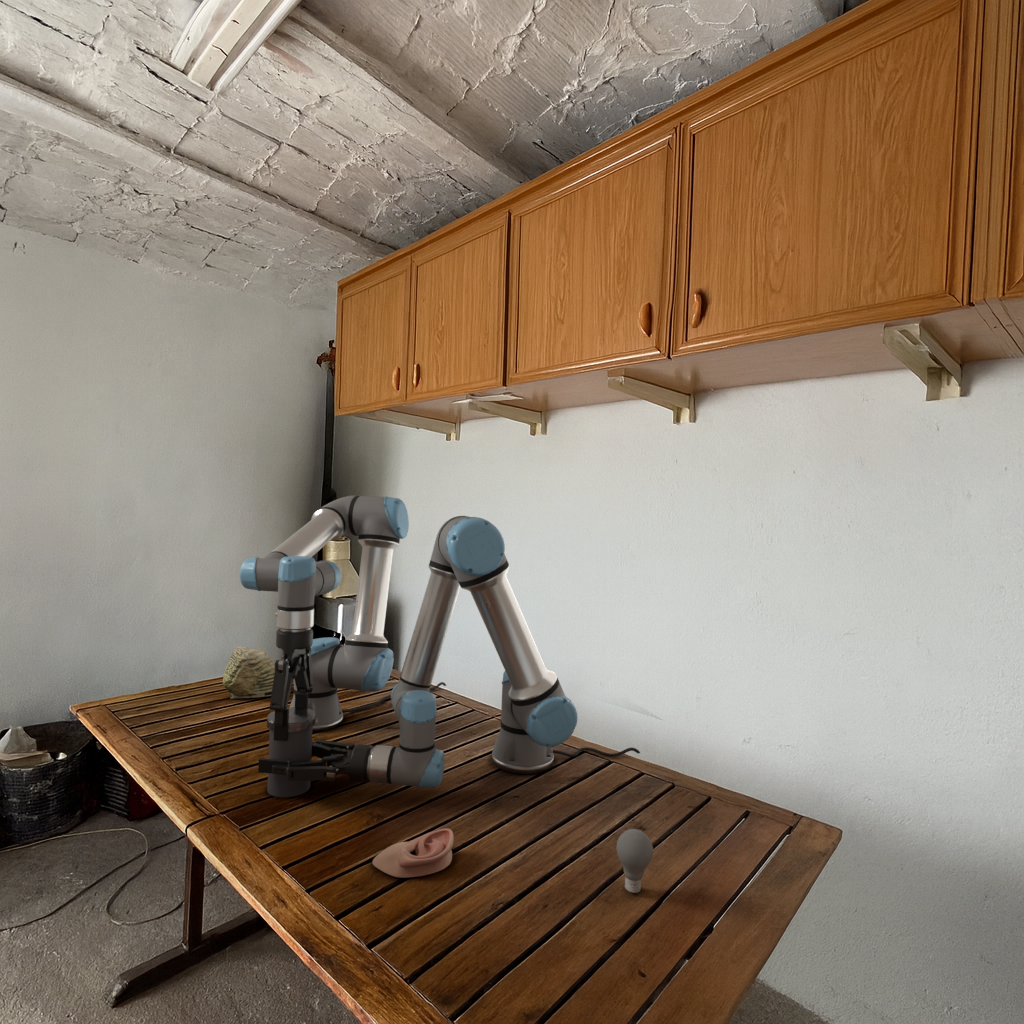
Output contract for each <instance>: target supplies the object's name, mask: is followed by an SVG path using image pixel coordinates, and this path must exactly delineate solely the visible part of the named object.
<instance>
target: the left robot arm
mask: <svg viewBox="0 0 1024 1024" xmlns="http://www.w3.org/2000/svg"><path fill="white" fill-rule="evenodd" d="M409 521H410V520H409V512H408V509H407V506H406V504H405V502H404V501H403V500H402V499H400V498H398V497H392V496H375V495H374V496H371V495H347V496H343V497H340V498H337V499H334V500H332V501H329V502H328V503H326V504H325V505H322V506H321V507H320V508H318V509H317V510H316V511H315V512H313V514H312V516H311V518H310V521H308V522H307V523H306V524H304V525H303V526H302V527H301V528H299V529H298V530H296V531H295V532H294V533H293V534H291V535H290V536H289V537H288V538H287V539H285V540H284V541H283V542H282V543H279V545H278V546H277V547H275V548H274V549H273V550H272V551H270V552H268V553H267V554H266V555H265V556H264V557H258V556H257V557H249V558H247V559H245V560H244V561H243V563H242V564H241V566H240V570H239V578H240V583H241V584H240V585H242V586H243V588H244V589H247V590H251V591H252V590H253V591H257V592H274V593H277V611H276V612H275V616H276V627H277V630H276V631H275V632H276V634H275V646H276V647H277V648H278V649H281V650H282V656H281V659H275V660H274V661H275V662H274V663H275V675H274V681H273V688H272V695H271V696H270V701H269V710H270V711H275V719H274V740H275V741H287V740H288V724H289V709H287V708H293V707H300V708H308V709H311V710H313V711H315V713H316V723H315V725H314V726H313V730H312V733H316V732H325V731H329V730H332V729H335V728H337V727H339V726H340V725H342V723H343V722H344V714H343V713H350V712H357V711H361V710H365V709H369V708H371V707H375V706H377V705H379V704H381V703H383V701H385V700H387V699H391V694H389V695H386V696H383V697H381V699H379V700H378V701H376V702H375V701H374V702H372V703H370V704H367V705H364V706H359V707H353V708H342V706H341V702H340V699H339V695H338V689H342V690H351V691H362V692H363V693H364V692H365V693H366V692H379V691H381V690H382V689H383V688H384V687H385V686H386V684H387V683H388V681H389V679H390V677H391V675H392V671H393V668H394V661H395V657H394V652H393V650H392V649H391V648H389V647H388V645H389V641H388V640H387V638H386V637H385V634H384V632H385V624H386V616H387V608H388V599H389V592H390V591H389V590H390V581H391V574H392V573H391V572H392V564H393V555H394V551H395V550H396V549H397V548H398V547H399V546H400V543H401V540H403V539H405V538H406V537H407V536H408V533H409V527H410V525H409V523H410V522H409ZM344 536H355V537H358V539H357V543H359V545H360V546H361V547H362V549H361V556H360V565H359V575H358V580H357V589H356V598H355V605H354V612H353V613H354V614H353V622H352V628H351V633H350V634H349V635H348V636H347V637H346V638H345V640H344V644H340V643H341V641H340V639H339V638H338V637H334V636H331V637H330V636H329V637H318V638H314V630H313V627H314V625H315V597H318V596H321V595H326V594H329V593H331V592H332V591H335V590H336V589H337V588H338V587H339V585H340V584H341V582H342V571H341V569H340V567H339V565H338V564H337V563H335V562H334V561H330V560H318V561H316V559H315V558H314V556H315V555H316V554H317V553H318V552H319V551H320V550H321V549H323V548H324V547H325V546H326V545H327V544H328V543H329V542H332V541H335V540H338V539H339V538H340V537H344ZM442 685H443V686H444V687H446V686H447V684H446V683H445V682H442V681H441V682H439V683H437V684H436V685H435V686H433V687H430V691H429V692H431V691H434V690H436V689H438V688H439V687H441V686H442ZM292 688H293V695H292V696H293V697H292V699H291V702H290V704H289V701H290V697H291V693H292ZM288 706H289V707H288Z"/></svg>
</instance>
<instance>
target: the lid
mask: <svg viewBox="0 0 1024 1024" xmlns="http://www.w3.org/2000/svg"><path fill="white" fill-rule="evenodd" d="M287 709H289V724H288V733H290V732H299V731H303V730H307V729H309V728H311V727H313V726H314V725H315V723H316V713H315V711H313V710H311V709H308V708H300V707H293V708H289V707H287ZM274 719H275V710H272V711H271V712H270V713H268V714H267V718H266V727H267V729H268V730H269V731H270V730H272V731H274Z"/></svg>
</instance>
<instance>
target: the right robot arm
mask: <svg viewBox="0 0 1024 1024" xmlns="http://www.w3.org/2000/svg"><path fill="white" fill-rule="evenodd" d="M505 546H506V544H505V540H504V537H503V535H502V533H501V531H500V530H499V529H498V527H496V526H495V525H494V524H493V523H491V521H489V520H487V519H484V518H482V517H478V516H467V515H457V516H454V517H451V518H449V519H448V520H446V521H444V523H443V524H442V525H441V527H439V529H438V532H437V534H436V538H435V540H434V545H433V550H432V552H431V556H430V560H429V562H428V569H429V571H430V575H429V578H428V582H427V585H426V588H425V592H424V595H423V598H422V602H421V605H420V609H419V612H418V616H417V618H416V622H415V625H414V628H413V632H412V635H411V639H410V641H409V645H408V648H407V651H406V655H405V658H404V662H403V666H402V669H401V672H400V675H399V678H398V681H397V684H395V686H394V687H393V688H392V690H391V694H390V695H391V697H390V702H391V707H392V710H393V711H394V713H395V716H396V718H397V721H398V723H399V742H398V746H392V745H381V744H376V745H375V746H373V745H372V744H362V743H360V744H359V743H357V744H356V743H344V742H343V743H342V742H339V741H331V740H327V739H319V738H317V739H315V740H314V741H312V756H311V758H313V757H316V758H319V759H311V761H303V762H294V763H291V759H290V760H278V759H269V758H264V757H263V758H262V757H260V758H258V764H257V765H258V767H257V770H258V771H257V773H259V774H260V773H261V774H268V773H272V774H285V775H287V781H308V780H311V781H327V782H336V780H337V776H340V775H348V777H349V780H350V781H351V782H353V783H368V782H369V783H371V784H380V785H382V786H386V785H393V786H394V785H396V786H404V787H405V786H406V787H417V788H419V789H420V788H436V787H438V786H440V785H441V783H442V781H443V777H444V774H445V773H444V772H445V762H446V759H445V752H444V751H443V750H441V749H438V748H436V745H435V739H436V721H437V713H438V709H437V697H436V695H435V694H434V693H433V692H431V691H430V688H432V683H433V679H434V676H435V673H436V670H437V666H438V663H439V659H440V657H441V654H442V650H443V646H444V643H445V640H446V636H447V634H448V629H449V627H450V623H451V619H452V616H453V612H454V611H455V610H454V609H455V606H456V603H457V600H458V597H459V593H460V590H461V589H463V590H466V591H469V592H470V594H471V596H472V599H473V601H474V604H475V605H476V608H477V610H478V612H479V615H480V617H481V619H482V621H483V624H484V626H485V628H486V631H487V632H488V633H487V634H488V635H489V637H490V639H491V642H492V644H493V646H494V648H495V649H494V650H496V653H497V656H498V657H499V660H500V662H501V664H502V667H503V669H504V671H503V675H502V681H501V685H502V687H501V710H500V729H499V732H498V735H497V737H496V740H495V743H494V745H493V748H492V751H491V753H492V754H491V762H492V764H493V765H494V766H495V767H497V768H498V769H500V770H503V771H505V772H509V773H513V774H522V775H529V774H533V775H534V774H539V773H542V772H546V771H548V770H550V769H551V768H552V767H553V766H554V762H555V761H554V759H555V755H554V754H558V755H562V756H565V757H568V758H575V757H577V756H578V755H579V754H580V753H582V752H585V751H587V752H588V751H589V752H593V753H595V754H599V755H601V756H605V757H609V758H614V757H615V758H616V757H620V756H622V755H624V754H626V753H629V752H635V753H636V754H641V751H640V750H639V749H638V748H636V747H628V748H625V749H623V750H621V751H619V752H614V753H612V752H611V753H610V752H604V751H602V750H600V749H597V748H593V747H589V746H587V747H580V748H578V749H577V751H576V752H574V753H568V752H565V751H562V750H557V749H553V748H552V747H557V746H560V745H561V744H564V743H565V742H567V740H568V739H570V738H571V736H572V735H573V734H574V732H575V729H576V727H577V723H578V720H579V719H578V710H577V708H576V706H575V704H574V702H573V701H572V700H571V699H570V698H569V697H567V695H566V694H565V692H564V690H563V687H562V685H561V683H560V680H559V678H558V676H557V673H556V672H554V671H553V670H550V669H547V667H546V665H545V663H544V660H543V658H542V656H541V653H540V651H539V648H538V646H537V645H536V644H537V643H536V642H535V639H534V637H533V635H532V633H531V630H530V628H529V626H528V623H527V620H526V618H525V616H524V614H523V611H522V608H521V606H520V604H519V601H518V599H517V598H516V595H515V593H514V591H513V588H512V585H511V583H510V581H509V579H508V576H507V574H508V572H509V570H510V566H511V565H510V564H509V561H508V559H507V556H506V555H505V551H506V547H505Z"/></svg>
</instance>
